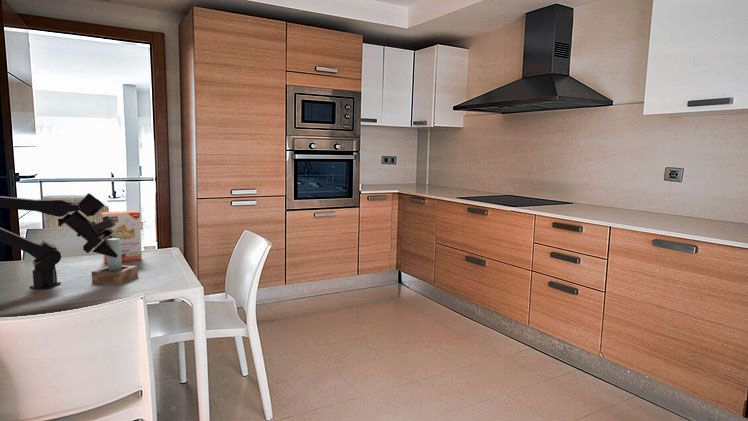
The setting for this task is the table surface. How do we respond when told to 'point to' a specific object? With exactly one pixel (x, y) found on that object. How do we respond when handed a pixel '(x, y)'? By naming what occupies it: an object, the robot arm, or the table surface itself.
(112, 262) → the column
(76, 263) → the table surface
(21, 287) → the table surface
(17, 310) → the table surface
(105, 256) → the cracker box
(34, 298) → the table surface
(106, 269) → the socket base
